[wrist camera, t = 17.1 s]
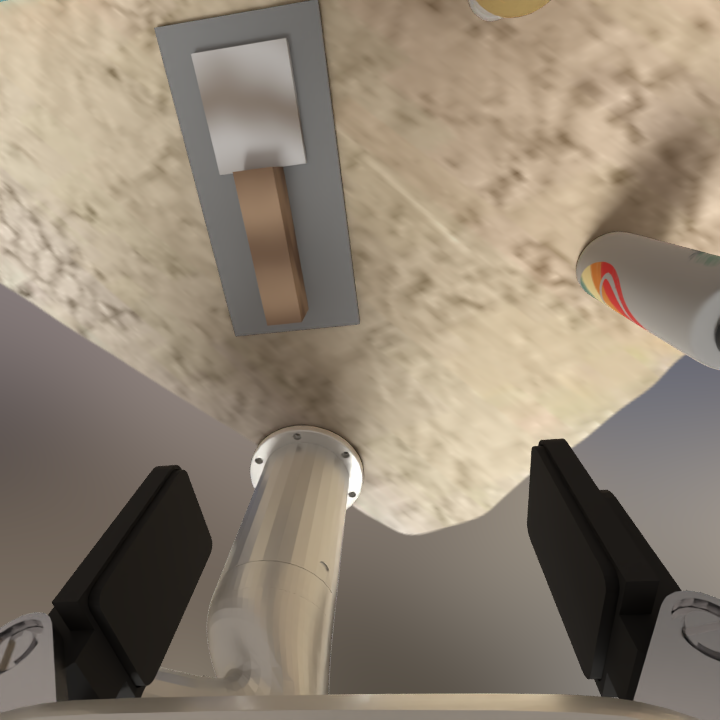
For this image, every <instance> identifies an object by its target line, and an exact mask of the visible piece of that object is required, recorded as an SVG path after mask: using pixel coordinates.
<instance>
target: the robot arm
mask: <svg viewBox="0 0 720 720" xmlns="http://www.w3.org/2000/svg"><path fill="white" fill-rule="evenodd" d="M250 478H251V481H252V484H253V486H254V488H255V491H254V493H253V496H252V498H251V501H250V503H249V506H248V508H247V511H246V514H245V516H244V518H243V521H242V524H241V526H240V529H239V531H238V534H237V536H236V539H235V541H234V544H233V546H232V549H231V551H230V554H229V556H228V559H227V561H226V564H225V566H224V569H223V571H222V574H221V576H220V579H219V582H218V584H217V587H216V589H215V592H214V594H213V597H212V600H211V603H210V606H209V611H208V618H207V639H208V647H209V652H210V656H211V660H212V664H213V667H214V671H215V674H216V678H213V677H207V676H202V677H201V676H196V675H192V674H188V673H184V672H179V671H175V670H171V669H166V668H162V667H160V666H161V663H162V661H163V659H164V656H165V654H166V652H167V650H168V648H169V645H170V643H171V641H172V639H173V636H174V634H175V632H176V630H177V628H178V625H179V623H180V621H181V619H182V616H183V614H184V611H185V610H186V607H187V605H188V603H189V601H190V598H191V596H192V594H193V592H194V589H195V587H196V585H197V583H198V580H199V578H200V576H201V574H202V571H203V569H204V567H205V565H206V562H207V560H208V558H209V556H210V553H211V550H212V539H211V536H210V533H209V530H208V528H207V525H206V523H205V520H204V517H203V514H202V512H201V509H200V506H199V504H198V501H197V498H196V495H195V493H194V490H193V488H192V485H191V482H190V479H189V476H188V474H187V472H186V471H185V470H182V469H181V468H180V467H179V466H178V465H170V466H158V467H155V468H154V469H153V470H152V471H151V473H150V474H149V475H148V476H147V478H146V479H145V480H144V482H143V483H142V484H141V486H140V487H139V488H138V490H137V491H136V492H135V494H134V495H133V496H132V498H131V499H130V500H129V501H128V503H127V504H126V505H125V507H124V508H123V509H122V511H121V512H120V513H119V515H118V516H117V517H116V519H115V520H114V521H113V522H112V524H111V525H110V527H109V528H108V529H107V530H106V532H105V533H104V534H103V536H102V537H101V538H100V540H99V541H98V542H97V543H96V545H95V546H94V548H93V549H92V550H91V551H90V553H89V554H88V555H87V557H86V558H85V559H84V561H83V562H82V563H81V564H80V566H79V567H78V568H77V570H76V571H75V572H74V574H73V575H72V576H71V578H70V579H69V580H68V582H67V583H66V584H65V586H64V587H63V588H62V589H61V591H60V592H59V594H58V595H57V596H56V597H55V599H54V600H53V601H52V604H53V605H54V608H53V609H52V611H51V612H50V613H49V615H46V614H45V613H37V612H35V613H30V614H26V615H23V616H21V617H18V618H16V619H14V620H12V621H10V622H9V623H7V624H6V625H4V626H2V627H1V628H0V720H720V599H718V598H716V597H713V596H710V595H707V594H704V593H701V592H695V591H687V590H686V591H681V589H680V588H679V586H678V585H677V583H676V582H675V581H674V579H673V578H672V576H671V575H670V574H669V572H668V571H667V569H666V568H665V566H664V565H663V564H662V562H661V561H660V559H659V558H658V557H657V555H656V554H655V552H654V551H653V550H652V548H651V547H650V545H649V544H648V543H647V541H646V540H645V538H644V537H643V535H642V534H641V532H640V531H639V530H638V528H637V527H636V526H635V524H634V523H633V521H632V520H631V519H630V517H629V516H628V514H627V513H626V511H625V510H624V509H623V507H622V506H621V504H620V503H619V501H618V500H617V499H616V497H615V496H614V495H613V494H612V493H611V492H610V491H608V490H599V489H598V487H597V486H596V484H595V483H594V482H593V480H592V479H591V477H590V476H589V474H588V473H587V471H586V470H585V468H584V467H583V465H582V464H581V462H580V461H579V459H578V458H577V456H576V455H575V453H574V452H573V450H572V449H571V447H570V446H569V444H568V443H567V441H566V440H565V439H551V440H541V441H540V442H539V445H538V446H533V447H532V451H531V467H530V484H529V501H528V517H527V528H528V533H529V537H530V540H531V543H532V545H533V548H534V550H535V553H536V555H537V557H538V560H539V563H540V565H541V568H542V570H543V573H544V575H545V578H546V580H547V583H548V585H549V588H550V590H551V593H552V595H553V598H554V601H555V603H556V606H557V608H558V611H559V613H560V616H561V618H562V621H563V623H564V626H565V628H566V631H567V633H568V636H569V638H570V641H571V643H572V646H573V648H574V651H575V654H576V656H577V658H578V661H579V664H580V666H581V669H582V671H583V673H584V675H585V676H586V678H587V679H594V680H595V682H596V685H597V687H598V689H599V692H600V694H601V697H598V696H582V695H566V694H564V695H563V694H356V695H355V694H353V695H352V694H350V695H329V674H330V657H331V647H332V646H331V645H332V634H333V626H334V616H335V608H336V597H337V589H338V580H339V570H340V561H341V551H342V541H343V532H344V524H345V515H346V510H347V509H348V508H349V507H350V506H351V505H353V503H354V502H355V501H356V500H357V498H358V496H359V494H360V492H361V490H362V485H363V467H362V463H361V460H360V458H359V456H358V454H357V453H356V451H355V450H354V448H353V447H352V446H351V445H350V444H349V443H348V442H347V441H346V440H344V439H343V438H341V437H340V436H339V435H337V434H335V433H333V432H331V431H329V430H326V429H322V428H319V427H314V426H306V425H305V426H291V427H286V428H283V429H280V430H278V431H275V432H273V433H272V434H270V435H269V436H267V437H266V438H265V439H264V440H263V441H262V442H261V443H260V444H259V445H258V447H257V449H256V450H255V452H254V455H253V457H252V459H251V464H250ZM611 697H618V698H619V699H618V698H611Z"/></svg>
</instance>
